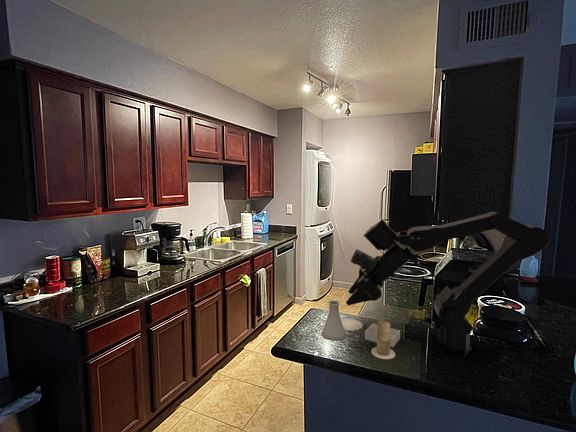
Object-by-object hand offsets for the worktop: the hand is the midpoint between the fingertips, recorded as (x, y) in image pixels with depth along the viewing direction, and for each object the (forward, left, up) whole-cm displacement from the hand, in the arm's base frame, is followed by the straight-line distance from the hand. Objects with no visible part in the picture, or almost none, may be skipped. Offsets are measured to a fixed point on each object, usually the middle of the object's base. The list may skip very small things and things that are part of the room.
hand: (348, 298), depth 88 cm
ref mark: (-12, +1, -11) cm, 16 cm away
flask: (+3, +2, -12) cm, 12 cm away
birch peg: (-12, +1, -11) cm, 16 cm away
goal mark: (+4, -7, -11) cm, 14 cm away
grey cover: (-8, -6, -11) cm, 15 cm away
